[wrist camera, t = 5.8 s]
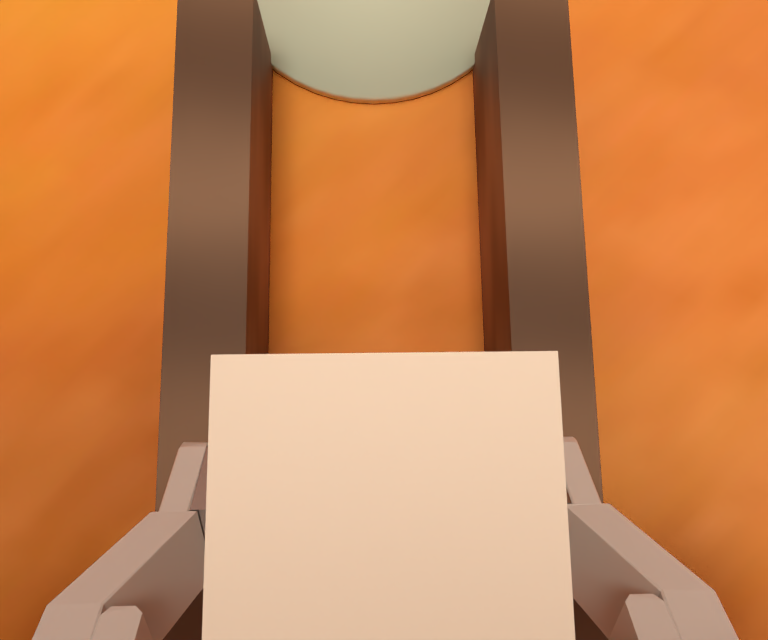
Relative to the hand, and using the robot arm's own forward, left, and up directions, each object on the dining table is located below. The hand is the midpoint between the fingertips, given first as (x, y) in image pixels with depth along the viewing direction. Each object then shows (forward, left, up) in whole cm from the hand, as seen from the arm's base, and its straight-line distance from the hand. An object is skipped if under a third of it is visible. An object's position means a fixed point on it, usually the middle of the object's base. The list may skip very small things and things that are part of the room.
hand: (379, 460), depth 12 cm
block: (0, -1, -5) cm, 5 cm away
